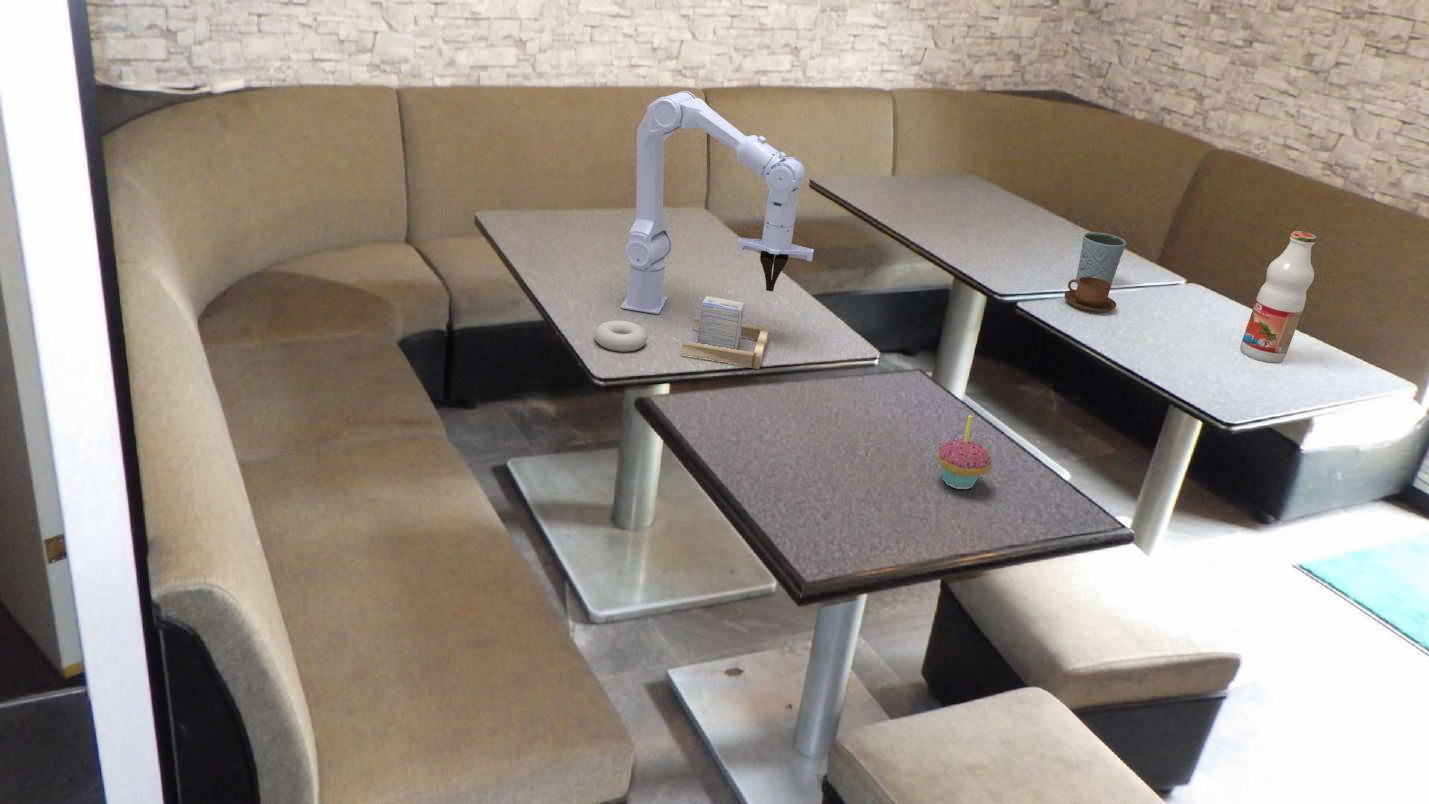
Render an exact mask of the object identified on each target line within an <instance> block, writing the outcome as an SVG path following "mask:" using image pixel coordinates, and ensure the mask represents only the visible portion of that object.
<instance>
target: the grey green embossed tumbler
mask: <svg viewBox="0 0 1429 804" xmlns="http://www.w3.org/2000/svg"><path fill="white" fill-rule="evenodd" d="M1126 245H1127V242H1126V240H1125V239H1123V238H1121V237H1120V236H1116V235H1114V234H1109V233H1104V232H1098V231H1097V232H1095V231H1094V232H1093V231H1090V232H1086V233H1084V234H1083V237H1082V245H1081V249H1080V251H1081V252H1080V255H1079V263H1078V266H1077V273H1076V276H1075V280H1078V281H1079V279H1080V278H1081V277H1093V278H1098V279H1101V280H1104V281H1106V282H1108V283H1110V284H1111V285H1112V284H1113V279H1114V278H1115V275H1116V273H1117V270H1118V267H1119V264H1120V261H1121V257H1122V256H1123V253H1124V251H1125V247H1126Z"/></svg>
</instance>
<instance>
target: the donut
mask: <svg viewBox="0 0 1429 804" xmlns="http://www.w3.org/2000/svg"><path fill="white" fill-rule="evenodd" d="M594 338H595V340H596V342H597V344H598V345H599V346H601V347H602V348H605V349H607V350H610V351H615V352H625V353H626V352H634V351H637V350H640V349H641V348H642V347H644V346H645V344H646V342H647V339H648V334H647V332H646V331H645V328H643V327H642V326H641V325H639V324H637V323H635V322H631V321H629V320H627V321H626V320H620V319H619V320H608V321H605V322H602V323H601V324H600V325H598V326H597V327H596V330H595V331H594Z"/></svg>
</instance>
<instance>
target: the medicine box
mask: <svg viewBox="0 0 1429 804" xmlns="http://www.w3.org/2000/svg"><path fill="white" fill-rule="evenodd" d="M744 308H745V302H743V301H737V300H731V299H725V298H719V297H714V296H707V295H706V296H705V298H704V299H703V300H702V302H701V304H700V315H699V317H700V321H699V330H698V331H697V341H696V343H700V344H708V345H711V346H718V347H726V348H730V349H735V350H738V347H739V344H740V342H741V338H740V336H741V327H742V324H743V318H744V311H745V309H744Z"/></svg>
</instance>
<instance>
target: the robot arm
mask: <svg viewBox="0 0 1429 804" xmlns="http://www.w3.org/2000/svg"><path fill="white" fill-rule="evenodd" d="M679 129H682V130H702V131H703V132H705V133H707V134H708V135H710V136H711V137H713V138H714V139H716V140H717V141H719V142H721V143H722V144H724V145H725V146H727V147H728V148H729V149H732V150H733V151H735V155H736V160H737V162H739V163H740V164H742V165H743V166H745V167H746V168H748V169H749V170H750V171H752V172H753V173H755V174H756V175H758V177H760V178H762V179H763V180H765V182H766V183H765V184H766V186H767V188H768V190H769V191H768V195H767V196H768V197H767V201H766V209H765V217H764V223H763V228H762V229H763V231H762V238H746V237H739V239H738V243H737V244H738V245H737V251H748V252H749V251H751V252H756V253H760V256H759V260H760V264H761V267H762V269H763V273H764V278H765V291H766V292H767V291H768V292H774V289H775V285H776V282H777V280H778V278H779V276H780V274H781V273H782V271H783V269H784V268H785V267H786V264H787V263H788V260H789V258H794V259H801V260H805V261H807V262H812V261H813V257H814V252H815V251H814V250H815V249H814V248H809V247H805V246H801V245H797V244H794V243H792V242H793V237H794V236H793V234H794V228H795V222H796V215H797V209H798V199H799V193H800V188H799V187H800V186H801V185H802V184H803V182H804V180H805V178H806V169H805V166H804V164H803V163H802V162H801V161H800V160H799V159H798V158H797V157H794V156H787V154H786V153H785V152H784V151H778V150H777V149H776V148H774V147H773V146H772V145H770V144H768V143H767V138H765V137H764V136H763V135H760V136H757V135H755V134H753V135H749V136H746V135H745V134H744V133H742V132H741V131H740V130H739V129H738V128H736V127H735V126H733V125H732V124H731V123H730V122H728V120H726V119H725V118H723V117H722V116H721V115H720V114H719V113H717V112H716V110H714V109H712V108H711V107H710V106H709V105H708V104H707V103H706V101H705V100H704V99H701V98H699V97H696V96H695V94H693V93H692V92H690V91H688V90H682V91H678V92H676V93H674V94H669V95H667V96H661V97H658V98H656V99H655V100H654V101H653V102H651V103H650V104H649V105H647V107H646V112H645V115H644V116H643V119H642V120H641V121H640V124H639V125H638V127H637V129H636V132H637V133H636V197H635V198H636V206H635V207H636V210H635V211H636V213H635V215H636V216H635V221H634V223H633V225H632V226H631V229H629V238H628V242H627V243H626V245H625V249H624V254H625V258H626V261H627V262H628V263H629V265H628V266H629V267H628V278H627V279H628V281H627V291H626V298H625V299H624V301H623V302H622V303H621V305H620V308H621V309H623V310H628V311H629V310H631V311H636V312H641V313H642V312H643V313H648V314H655V315H659V314H660V313H661V310H662V309H663V308H664V305H665V304H666V302H667V301H668V300H667V299H668V297H667V296H664V286H665V284H664V283H665V275H666V268H665V267H666V264H665V263H666V262H665V261H666V257H668V255H670V253H671V250H672V248H673V242H672V239H671V237H670V235H669V225H668V223H667V221H666V220H665V219H664V188H665V187H664V184H665V183H664V180H665V179H664V178H665V177H664V175H665V174H664V173H665V141H666V140H667V139H668V138H669V137H670V136H671V135H672V134H673V133H675V132H676V131H677V130H679ZM786 156H787V157H786Z"/></svg>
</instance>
